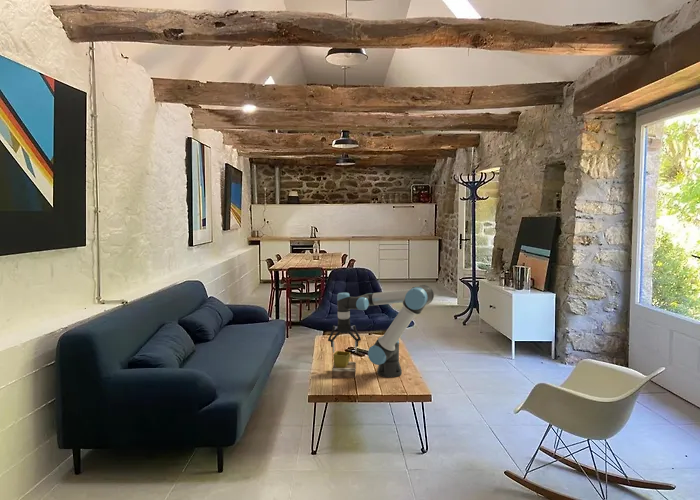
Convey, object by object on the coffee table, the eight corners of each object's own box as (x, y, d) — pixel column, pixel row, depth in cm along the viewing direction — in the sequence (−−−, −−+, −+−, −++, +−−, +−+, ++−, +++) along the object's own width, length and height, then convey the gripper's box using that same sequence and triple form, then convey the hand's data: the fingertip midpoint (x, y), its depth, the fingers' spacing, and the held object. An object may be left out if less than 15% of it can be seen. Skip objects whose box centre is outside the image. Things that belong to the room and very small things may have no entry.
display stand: (355, 370, 308) (355, 361, 308) (355, 377, 294) (355, 368, 294) (333, 370, 309) (333, 361, 308) (332, 377, 295) (332, 368, 294)
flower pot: (336, 364, 306) (337, 350, 305) (350, 366, 304) (350, 352, 303) (332, 368, 298) (333, 354, 297) (346, 370, 296) (347, 356, 295)
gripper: (364, 316, 302) (365, 350, 304) (324, 317, 303) (325, 350, 304) (364, 318, 295) (365, 353, 296) (323, 319, 296) (324, 354, 297)
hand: (344, 352), depth 300 cm, fingers open, 13 cm apart
